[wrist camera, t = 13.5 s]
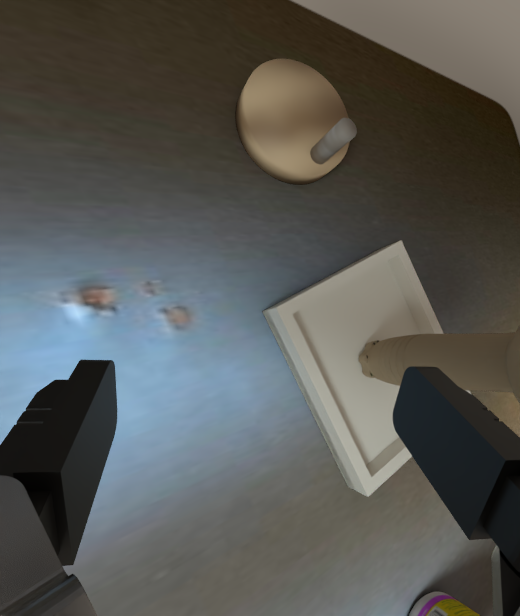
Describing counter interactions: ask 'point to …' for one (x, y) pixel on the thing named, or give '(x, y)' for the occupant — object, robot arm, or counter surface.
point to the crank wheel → (292, 122)
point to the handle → (449, 359)
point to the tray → (354, 357)
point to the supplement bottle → (440, 606)
